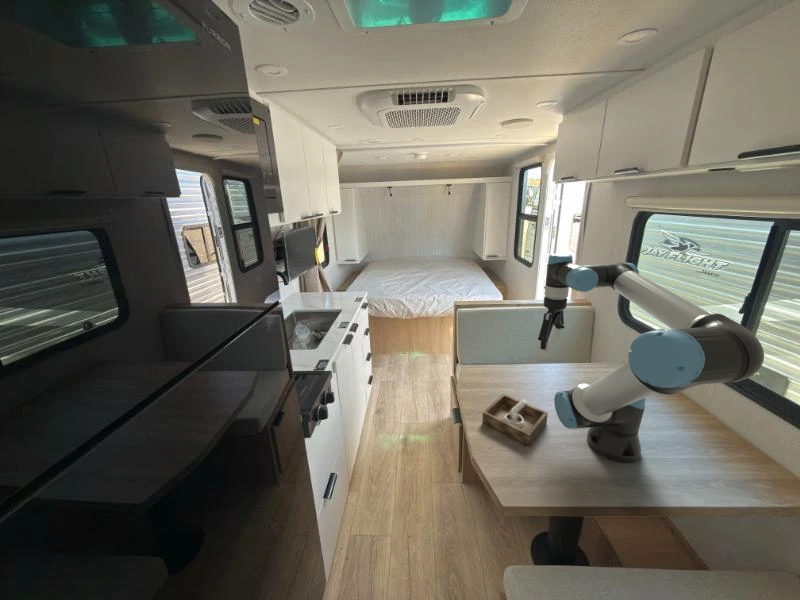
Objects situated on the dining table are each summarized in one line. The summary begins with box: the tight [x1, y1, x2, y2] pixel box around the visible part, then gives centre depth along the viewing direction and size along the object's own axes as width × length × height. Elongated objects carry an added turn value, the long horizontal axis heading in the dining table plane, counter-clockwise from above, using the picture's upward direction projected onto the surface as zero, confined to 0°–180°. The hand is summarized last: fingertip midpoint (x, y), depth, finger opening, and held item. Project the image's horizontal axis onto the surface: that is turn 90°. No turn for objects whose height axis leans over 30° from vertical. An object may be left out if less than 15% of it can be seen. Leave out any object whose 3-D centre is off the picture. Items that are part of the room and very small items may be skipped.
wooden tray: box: [482, 393, 549, 448], centre depth 117 cm, size 18×16×5 cm
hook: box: [503, 399, 528, 428], centre depth 116 cm, size 8×12×7 cm
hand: (549, 349), depth 117 cm, fingers open, 13 cm apart
